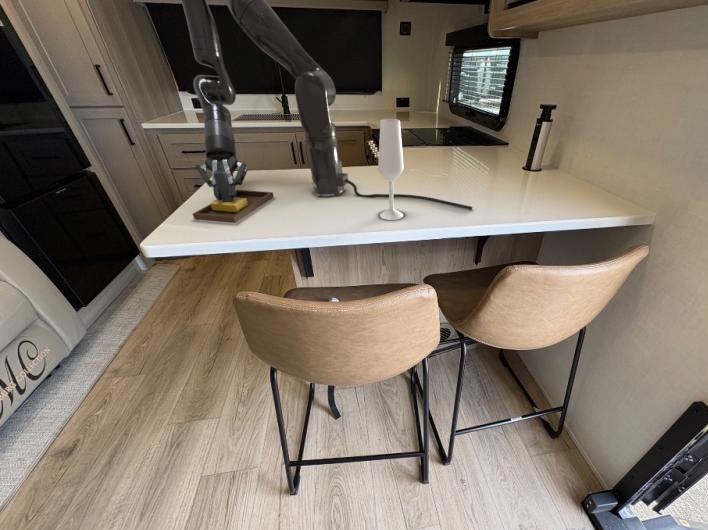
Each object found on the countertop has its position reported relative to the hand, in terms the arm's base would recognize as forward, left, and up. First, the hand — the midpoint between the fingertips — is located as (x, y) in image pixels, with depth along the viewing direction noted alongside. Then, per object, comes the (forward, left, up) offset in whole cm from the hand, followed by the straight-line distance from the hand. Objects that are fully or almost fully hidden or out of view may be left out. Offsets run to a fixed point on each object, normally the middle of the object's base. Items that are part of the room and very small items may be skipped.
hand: (225, 198), depth 92 cm
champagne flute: (-45, -9, -5) cm, 46 cm away
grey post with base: (+1, -2, -4) cm, 5 cm away
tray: (+1, -4, -5) cm, 6 cm away
